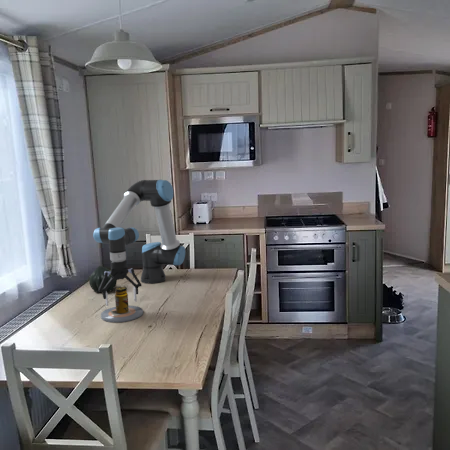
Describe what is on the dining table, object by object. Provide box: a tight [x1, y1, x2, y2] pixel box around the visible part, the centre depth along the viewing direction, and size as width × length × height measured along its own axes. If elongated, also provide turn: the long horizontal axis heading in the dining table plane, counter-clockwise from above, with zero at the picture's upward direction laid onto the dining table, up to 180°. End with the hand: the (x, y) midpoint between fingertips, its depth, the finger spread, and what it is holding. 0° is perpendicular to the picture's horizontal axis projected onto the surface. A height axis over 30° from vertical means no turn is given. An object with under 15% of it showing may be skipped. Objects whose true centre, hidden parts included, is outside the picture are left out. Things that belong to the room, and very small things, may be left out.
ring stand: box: [100, 304, 144, 323], centre depth 221 cm, size 20×20×1 cm
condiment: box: [110, 286, 131, 316], centre depth 220 cm, size 7×8×12 cm
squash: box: [88, 265, 118, 293], centre depth 260 cm, size 14×15×15 cm
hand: (121, 302), depth 220 cm, fingers open, 13 cm apart
